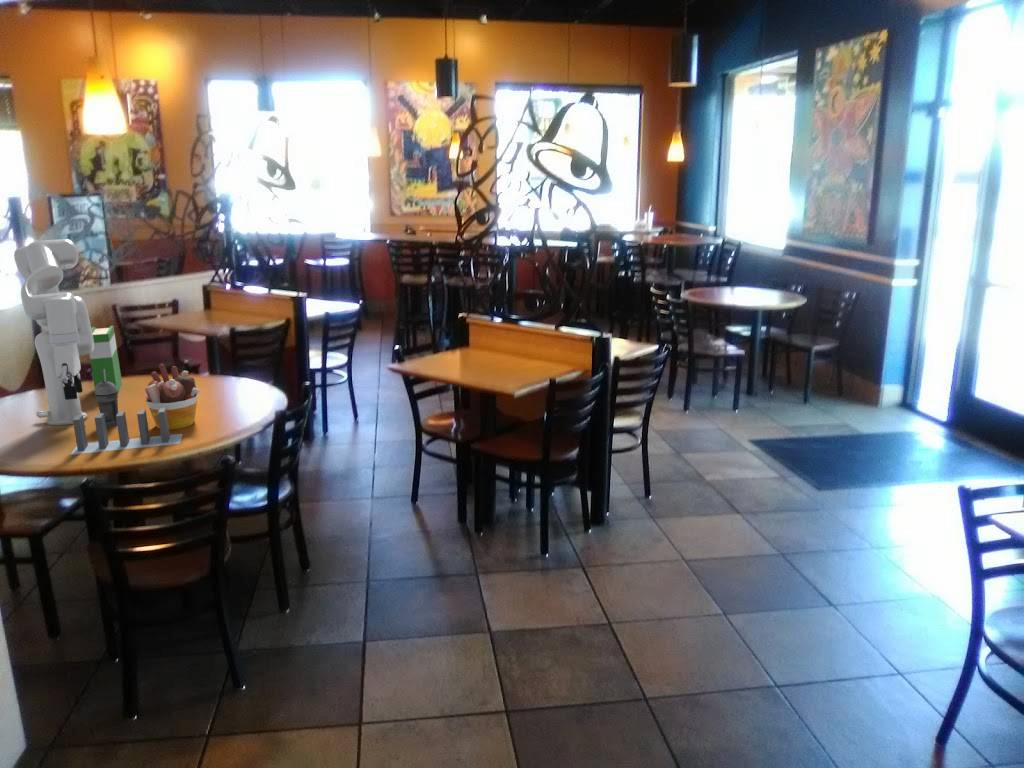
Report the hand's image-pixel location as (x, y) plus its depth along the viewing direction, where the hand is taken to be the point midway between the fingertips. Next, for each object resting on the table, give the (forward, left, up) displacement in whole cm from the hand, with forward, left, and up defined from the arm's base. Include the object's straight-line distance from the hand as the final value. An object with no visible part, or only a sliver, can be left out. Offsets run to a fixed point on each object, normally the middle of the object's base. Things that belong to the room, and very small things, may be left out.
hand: (74, 395), depth 248 cm
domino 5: (+24, 0, -17) cm, 29 cm away
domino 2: (+6, 0, -17) cm, 18 cm away
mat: (+13, 0, -18) cm, 22 cm away
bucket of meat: (+25, +17, -18) cm, 35 cm away
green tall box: (-5, +74, -18) cm, 76 cm away
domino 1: (0, 0, -17) cm, 17 cm away
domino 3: (+12, 0, -17) cm, 21 cm away
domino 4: (+18, 0, -17) cm, 25 cm away
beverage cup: (+4, +24, -18) cm, 30 cm away
